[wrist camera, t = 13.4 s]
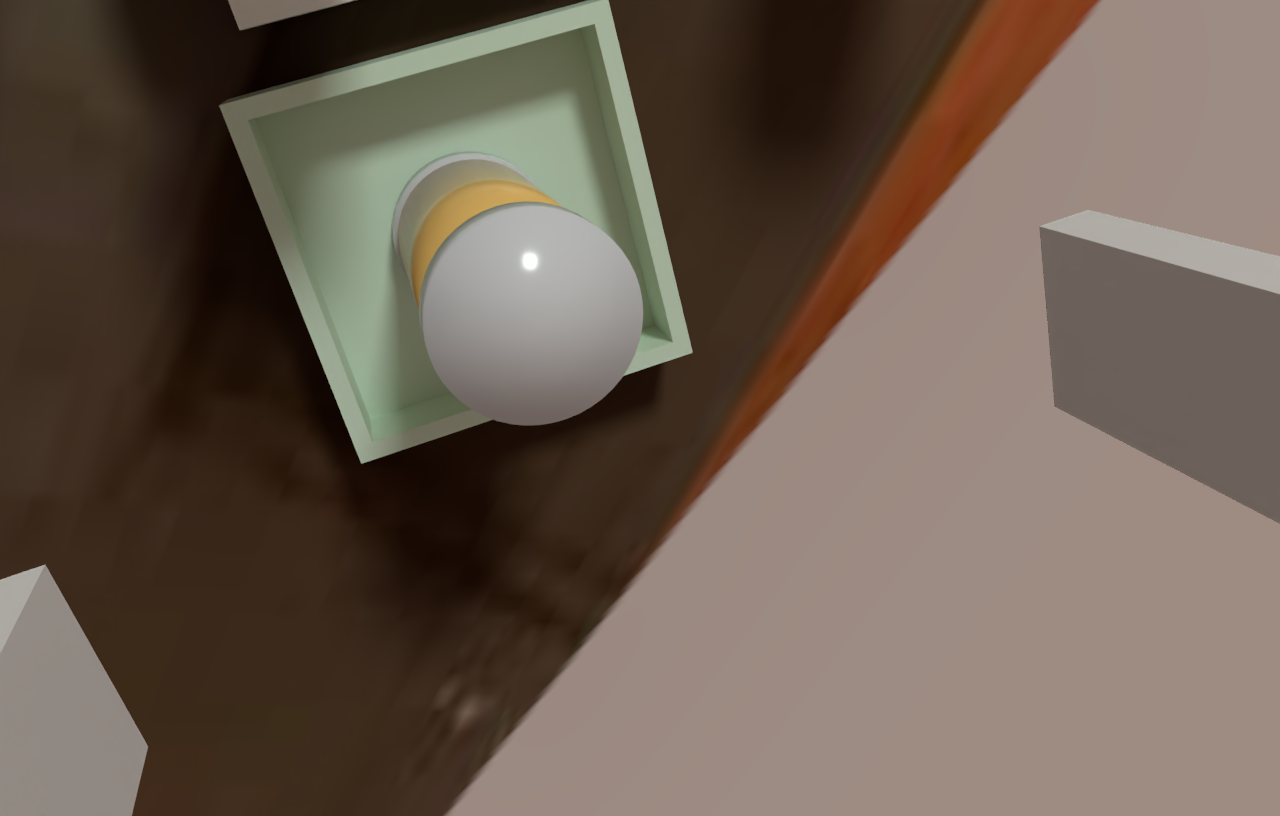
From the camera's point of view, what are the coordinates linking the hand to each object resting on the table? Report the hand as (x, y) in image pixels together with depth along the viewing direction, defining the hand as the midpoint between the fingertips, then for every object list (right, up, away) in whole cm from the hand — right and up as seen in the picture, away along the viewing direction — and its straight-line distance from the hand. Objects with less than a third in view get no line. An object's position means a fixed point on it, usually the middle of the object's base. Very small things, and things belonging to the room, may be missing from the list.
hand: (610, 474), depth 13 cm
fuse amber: (-4, +6, +16) cm, 18 cm away
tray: (-5, +6, +17) cm, 19 cm away
